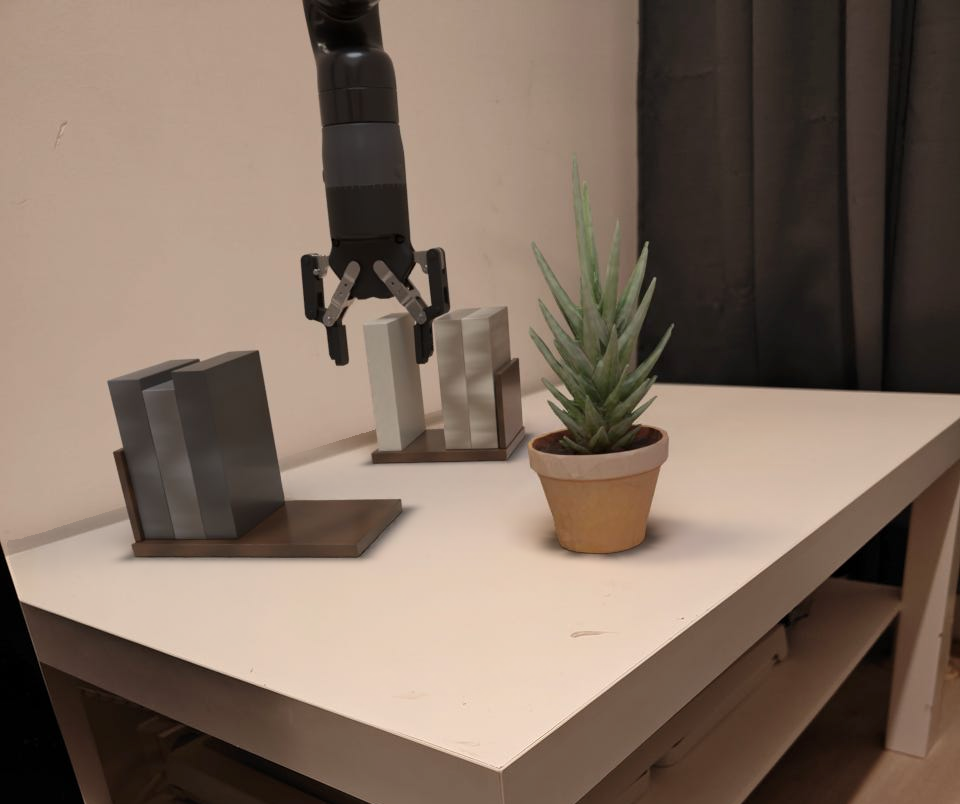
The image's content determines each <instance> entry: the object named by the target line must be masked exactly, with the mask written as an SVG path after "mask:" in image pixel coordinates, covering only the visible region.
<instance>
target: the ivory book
mask: <svg viewBox="0 0 960 804" xmlns="http://www.w3.org/2000/svg"><path fill="white" fill-rule="evenodd" d="M415 324H416V321H415V320H414V319H413V317H412V316H411V315H410V313H409V312H408V311H406V312H405V311H404V312H403V311H402V312H391V313H389V314H386V315H384V316H381V317H379V318H376V319H374V320H371V321H368V322H366V323H364V324H362V331H363V337H364V339H363V340H364V345H365V354H366V355H365V356H366V360H367V370H368V378H369V379H368V380H369V386H370V394H371V395H370V396H371V401H372V409H373V417H374V426H375V433H376V434H375V435H376V441H377V449H378V450H379V452H386V451H402V450H403V449H405V448H406V447H407V446H408V445H409V444H410V443H411V442H413V441H414V440H415V439H416V438H417V437H418V436H420V435H421V434H422V433H423V432H424V431H425V430H426V429H427V426H426V425H427V424H426V415H425V407H424V396H423V388H422V378H421V367H420V364H417V363H416V355H415V341H414V328H413V325H415Z"/></svg>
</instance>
